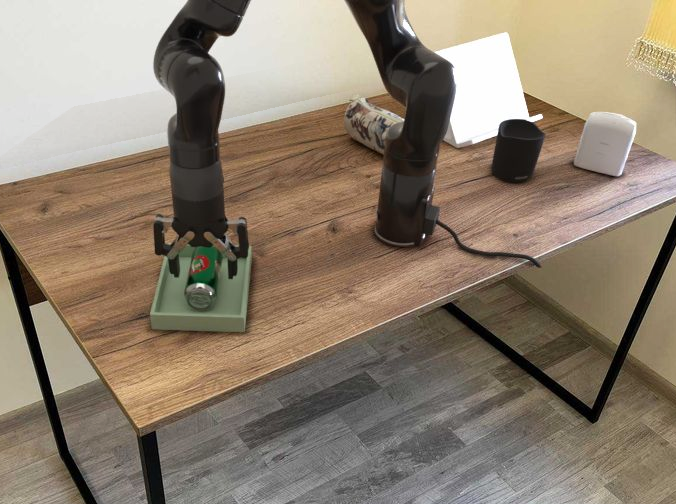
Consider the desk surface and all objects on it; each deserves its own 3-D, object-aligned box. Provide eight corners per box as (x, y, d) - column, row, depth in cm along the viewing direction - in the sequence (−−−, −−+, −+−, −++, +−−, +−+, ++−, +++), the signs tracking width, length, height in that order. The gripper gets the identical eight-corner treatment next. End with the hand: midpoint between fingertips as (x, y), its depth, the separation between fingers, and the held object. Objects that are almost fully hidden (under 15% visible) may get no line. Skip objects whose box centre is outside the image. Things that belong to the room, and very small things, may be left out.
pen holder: (484, 178, 154) (494, 133, 148) (494, 158, 161) (504, 115, 154) (529, 188, 152) (541, 143, 145) (537, 168, 159) (549, 124, 152)
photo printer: (570, 166, 160) (587, 112, 152) (575, 158, 163) (591, 104, 155) (619, 179, 157) (638, 124, 149) (622, 171, 160) (642, 116, 152)
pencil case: (436, 165, 157) (444, 122, 151) (409, 178, 153) (416, 133, 146) (363, 128, 169) (367, 86, 162) (336, 138, 164) (339, 95, 158)
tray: (169, 257, 128) (167, 242, 126) (251, 260, 128) (251, 245, 126) (151, 329, 114) (149, 314, 112) (244, 332, 114) (244, 317, 112)
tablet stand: (411, 123, 172) (422, 48, 160) (484, 98, 184) (498, 28, 173) (469, 154, 162) (485, 77, 150) (541, 126, 174) (561, 53, 163)
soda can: (220, 270, 126) (212, 315, 117) (190, 263, 125) (180, 308, 116) (225, 246, 122) (218, 290, 114) (195, 239, 121) (185, 283, 113)
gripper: (143, 197, 104) (155, 288, 115) (245, 200, 105) (247, 291, 116) (151, 170, 110) (162, 260, 121) (248, 174, 110) (250, 263, 121)
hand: (204, 275), depth 118 cm, fingers open, 8 cm apart
